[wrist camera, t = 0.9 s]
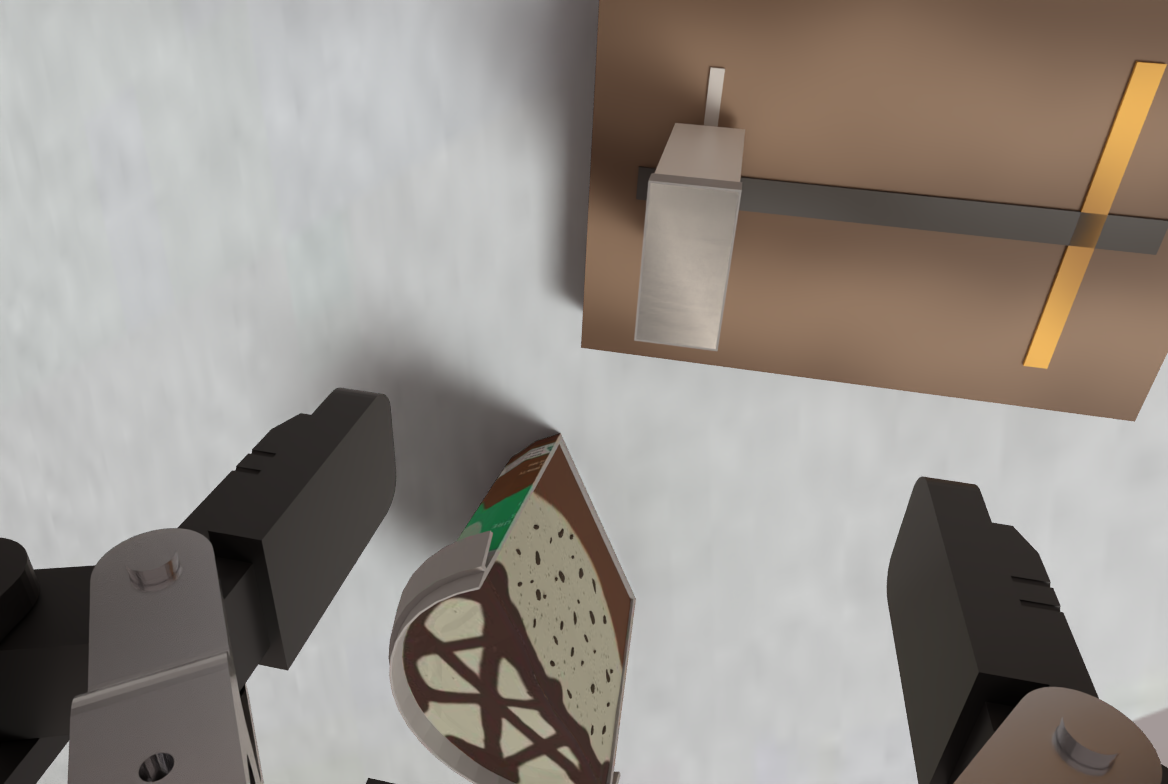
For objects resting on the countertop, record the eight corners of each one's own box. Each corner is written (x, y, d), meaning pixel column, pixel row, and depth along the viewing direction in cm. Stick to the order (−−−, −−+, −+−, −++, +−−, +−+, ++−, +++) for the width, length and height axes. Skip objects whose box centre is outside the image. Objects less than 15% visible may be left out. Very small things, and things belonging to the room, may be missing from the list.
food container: (417, 434, 35) (307, 601, 27) (546, 402, 33) (471, 574, 25) (528, 637, 40) (465, 832, 32) (646, 621, 38) (612, 825, 30)
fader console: (615, -45, 24) (600, -40, 22) (1277, -2, 22) (1333, 9, 20) (593, 316, 31) (580, 348, 29) (1107, 382, 28) (1135, 423, 26)
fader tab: (673, 120, 24) (648, 180, 19) (747, 127, 23) (741, 190, 18) (660, 254, 26) (634, 340, 21) (727, 262, 26) (717, 351, 20)
